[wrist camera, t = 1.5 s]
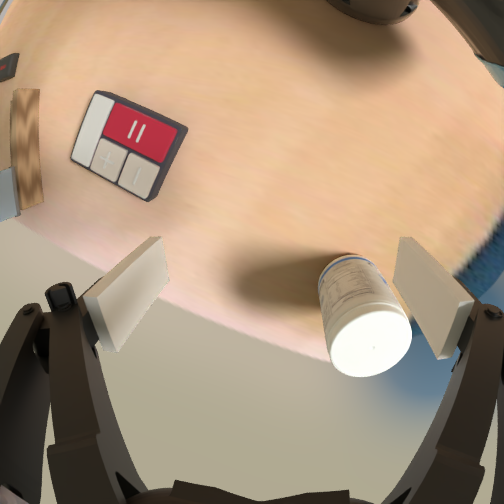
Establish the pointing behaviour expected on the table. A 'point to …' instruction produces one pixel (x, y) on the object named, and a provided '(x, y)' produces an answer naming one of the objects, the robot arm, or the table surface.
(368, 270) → the supplement tub
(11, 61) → the usb drive
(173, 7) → the table surface
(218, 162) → the table surface
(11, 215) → the light blue flat tile
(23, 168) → the wooden l-shaped bracket
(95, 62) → the table surface
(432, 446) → the robot arm
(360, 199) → the table surface
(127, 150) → the calculator
